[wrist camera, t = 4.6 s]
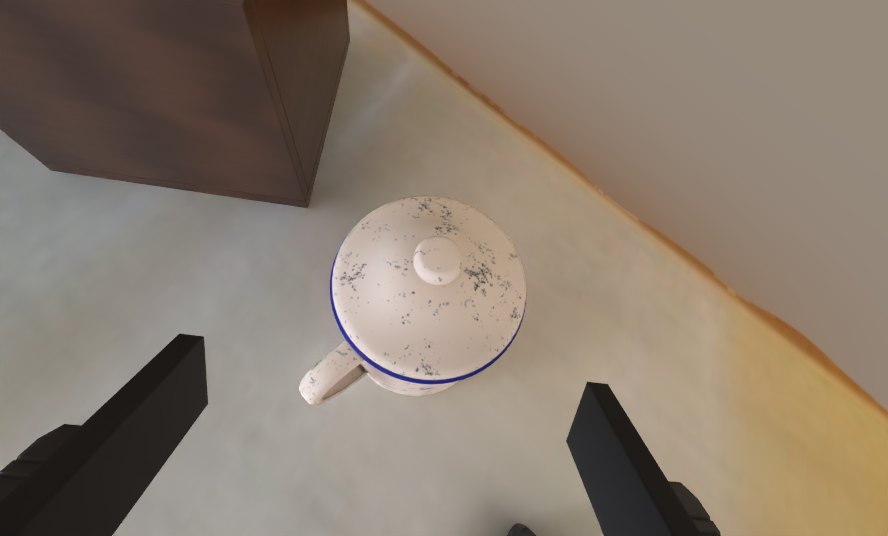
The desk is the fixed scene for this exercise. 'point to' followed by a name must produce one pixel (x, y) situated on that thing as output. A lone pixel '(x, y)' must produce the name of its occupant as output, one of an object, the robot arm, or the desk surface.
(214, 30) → the chest
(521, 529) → the multimeter
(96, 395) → the desk surface
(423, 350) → the teacup with lid
